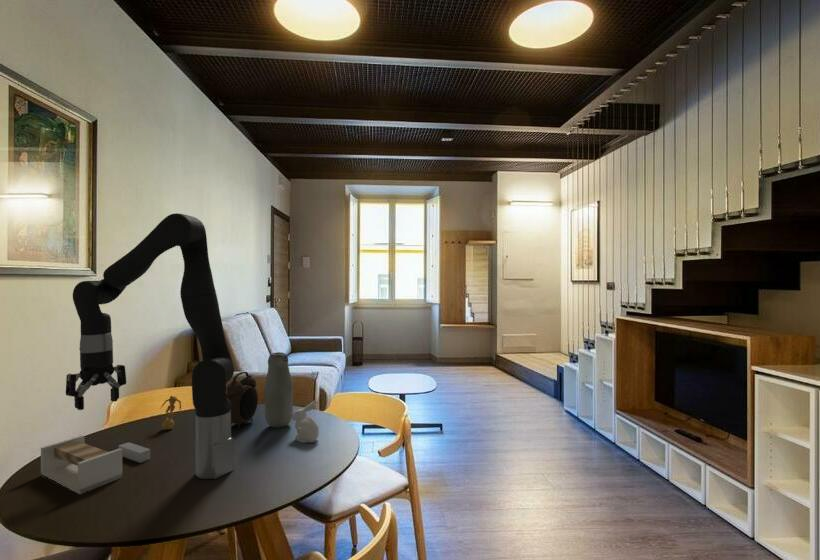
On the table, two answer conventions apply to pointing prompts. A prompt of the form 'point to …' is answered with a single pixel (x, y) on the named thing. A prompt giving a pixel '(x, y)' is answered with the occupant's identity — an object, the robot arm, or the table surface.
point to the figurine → (168, 422)
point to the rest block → (135, 452)
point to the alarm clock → (242, 399)
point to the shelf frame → (81, 468)
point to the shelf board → (77, 452)
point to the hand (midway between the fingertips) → (97, 405)
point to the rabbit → (305, 424)
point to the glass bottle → (278, 391)
